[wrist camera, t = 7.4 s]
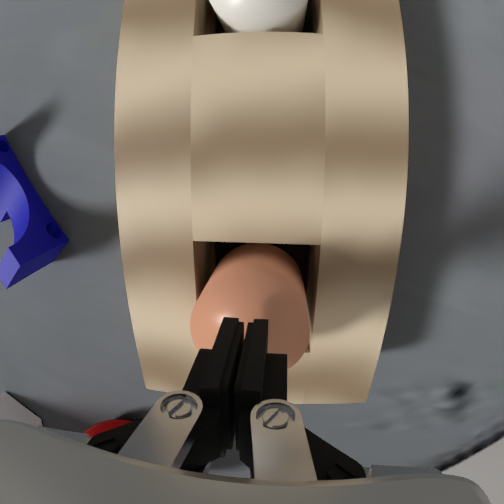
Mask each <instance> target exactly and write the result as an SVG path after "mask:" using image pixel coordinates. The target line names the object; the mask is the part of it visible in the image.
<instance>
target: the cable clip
mask: <svg viewBox="0 0 504 504" xmlns="http://www.w3.org/2000/svg"><path fill="white" fill-rule="evenodd" d="M8 219H11V222H12V225H13V229H14V245H12V246H10V247H8V249H7V251H6V253H5V255H4V257H3V259H2V260H1V262H0V280H1V282H2V283H3V285H4V287H5V288H6V289H7V288H9V287H11V286H12V285H14V284H16V283H17V282H19V281H21V280H22V279H24V278H26V277H27V276H29V275H31V274H32V273H34V272H36V271H37V270H39V269H41V268H43V267H44V266H46V265H48V264H50V263H51V262H53V260H54V259H55V258H56V257H57V255H58V254H59V253H60V251H61V250H62V249H63V248H64V246H65V245H66V244H67V243H68V241H69V240H68V238H67V237H66V235H65V234H64V233H63V231H62V230H61V228H60V227H59V225H58V224H57V223H56V221H55V220H54V218H53V217H52V215H51V214H50V212H49V211H48V209H47V208H46V206H45V205H44V203H43V201H42V200H41V198H40V197H39V195H38V194H37V192H36V190H35V189H34V187H33V185H32V184H31V182H30V180H29V179H28V177H27V175H26V174H25V172H24V170H23V169H22V167H21V165H20V163H19V162H18V160H17V158H16V156H15V154H14V153H13V151H12V149H11V147H10V145H9V143H8V141H7V140H6V138H5V136H4V135H0V222H2V221H5V220H8Z"/></svg>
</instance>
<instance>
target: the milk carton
mask: <svg viewBox="0 0 504 504" xmlns="http://www.w3.org/2000/svg"><path fill="white" fill-rule="evenodd" d="M0 419H4V420H13V421H18V422H23V423H27V424H30V425H33V426H37V427H42V421H41V419H40V418H39V417H38V416H36V415H35V414H33V413H32V412H31V411H29V410H28V409H27V408H25V407H24V406H23V405H21V404H20V403H19V402H18V401H16V400H15V399H14V398H12V397H11V396H10V395H9V394H7V393H6V392H3V393H2V394H1V395H0Z"/></svg>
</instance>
